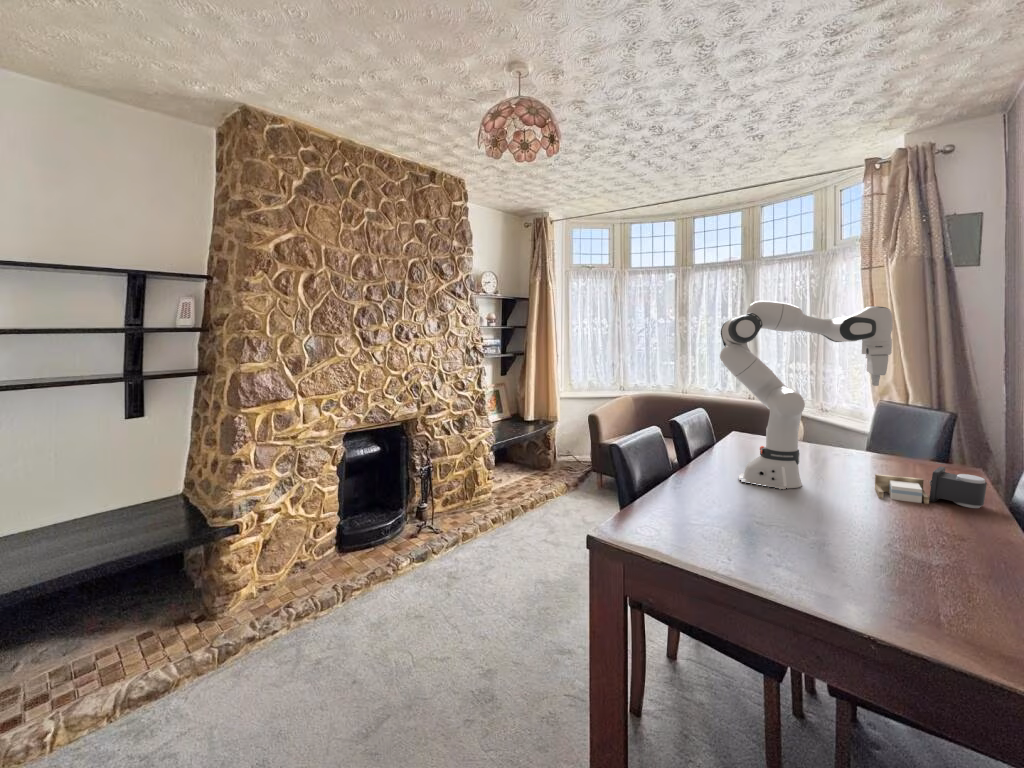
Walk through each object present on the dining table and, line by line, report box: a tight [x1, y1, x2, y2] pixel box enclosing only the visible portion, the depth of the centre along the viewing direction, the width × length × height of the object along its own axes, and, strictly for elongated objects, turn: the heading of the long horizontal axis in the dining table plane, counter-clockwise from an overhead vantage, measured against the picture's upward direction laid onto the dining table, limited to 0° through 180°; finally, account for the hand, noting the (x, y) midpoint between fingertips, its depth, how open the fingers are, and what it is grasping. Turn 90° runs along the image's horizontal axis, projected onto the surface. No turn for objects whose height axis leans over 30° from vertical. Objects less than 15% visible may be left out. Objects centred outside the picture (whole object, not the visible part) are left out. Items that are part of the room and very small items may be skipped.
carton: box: [888, 480, 923, 504], centre depth 160 cm, size 8×8×5 cm
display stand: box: [874, 473, 930, 505], centre depth 162 cm, size 13×10×6 cm
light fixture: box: [929, 466, 988, 509], centre depth 154 cm, size 11×13×11 cm
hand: (875, 385), depth 171 cm, fingers closed
